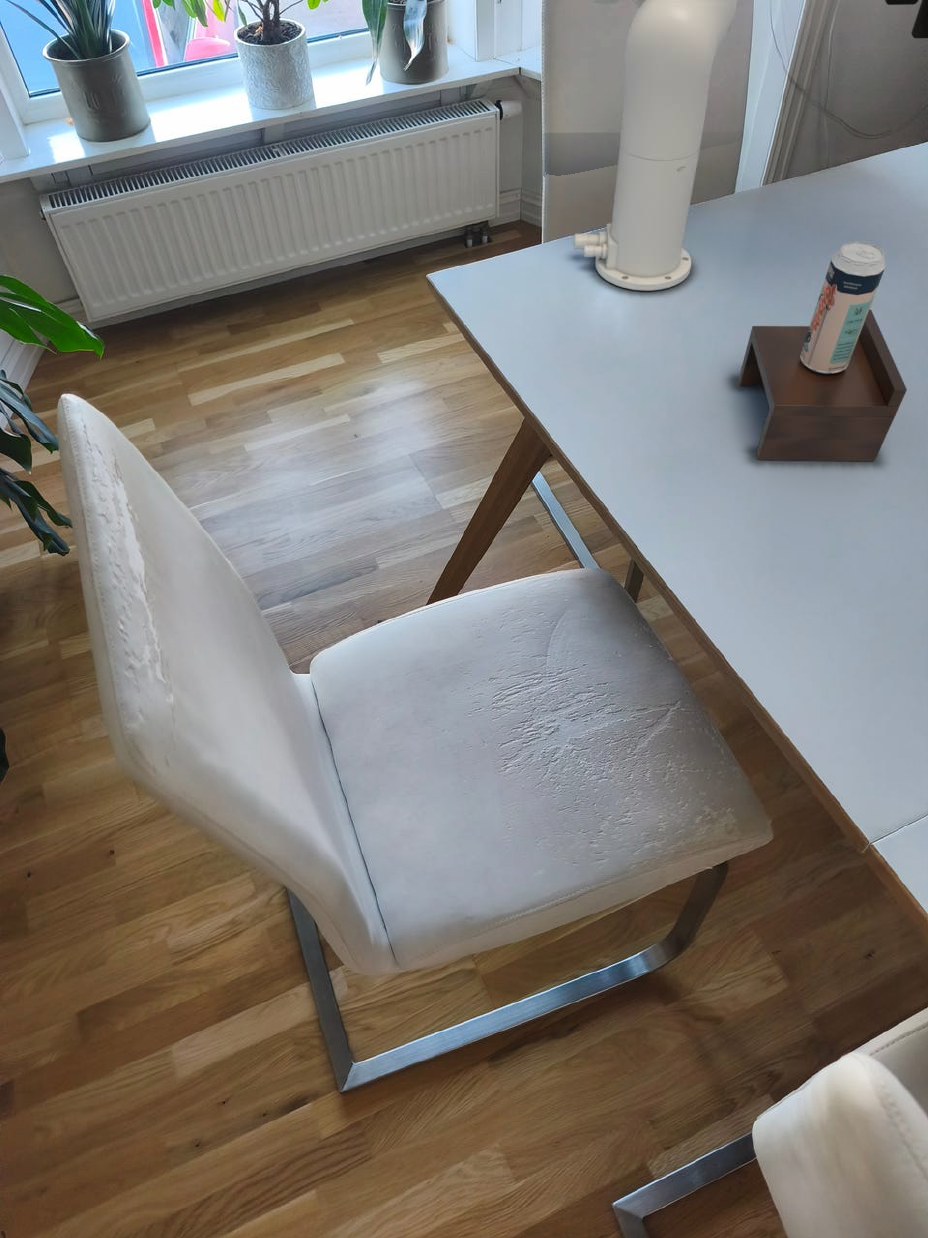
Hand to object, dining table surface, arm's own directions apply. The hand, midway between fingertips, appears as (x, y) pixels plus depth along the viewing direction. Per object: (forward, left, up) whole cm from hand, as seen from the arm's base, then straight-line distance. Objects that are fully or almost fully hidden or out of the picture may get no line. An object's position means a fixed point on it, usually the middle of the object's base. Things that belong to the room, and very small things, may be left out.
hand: (913, 19), depth 84 cm
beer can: (-7, -24, -24) cm, 34 cm away
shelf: (-7, -24, -30) cm, 39 cm away
